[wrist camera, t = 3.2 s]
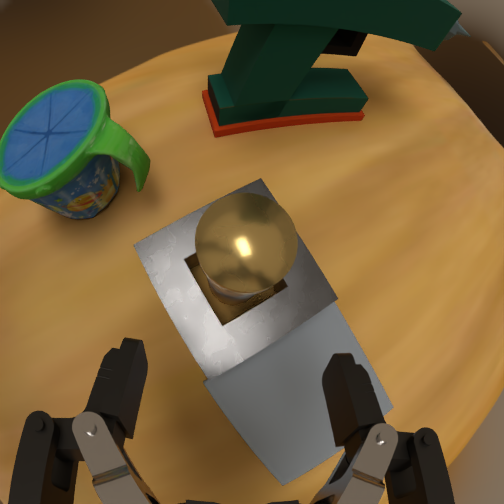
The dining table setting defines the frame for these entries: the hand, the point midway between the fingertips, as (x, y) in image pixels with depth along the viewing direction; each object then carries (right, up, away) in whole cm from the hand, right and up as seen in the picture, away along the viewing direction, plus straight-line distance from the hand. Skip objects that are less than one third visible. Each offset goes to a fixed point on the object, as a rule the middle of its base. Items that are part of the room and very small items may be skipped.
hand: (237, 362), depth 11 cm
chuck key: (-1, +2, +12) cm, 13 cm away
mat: (+5, -8, +11) cm, 15 cm away
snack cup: (-16, +11, +13) cm, 23 cm away
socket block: (-1, +2, +12) cm, 13 cm away
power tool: (+11, +24, +20) cm, 33 cm away
